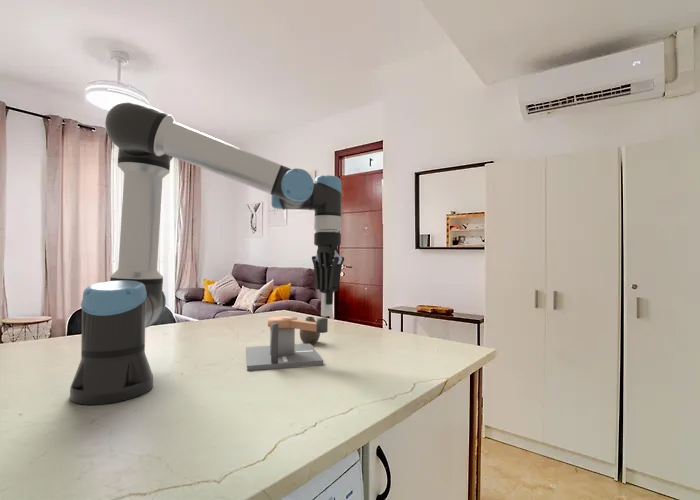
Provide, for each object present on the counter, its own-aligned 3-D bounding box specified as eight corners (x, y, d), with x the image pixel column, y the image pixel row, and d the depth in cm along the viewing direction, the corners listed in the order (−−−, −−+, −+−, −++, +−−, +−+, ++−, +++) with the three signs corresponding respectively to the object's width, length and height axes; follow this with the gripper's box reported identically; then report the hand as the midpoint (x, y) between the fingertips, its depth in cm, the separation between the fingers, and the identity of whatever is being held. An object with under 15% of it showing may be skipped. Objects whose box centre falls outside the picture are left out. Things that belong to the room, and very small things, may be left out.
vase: (318, 345, 124) (319, 319, 124) (298, 345, 124) (298, 318, 124) (320, 340, 131) (321, 315, 131) (301, 340, 131) (301, 315, 131)
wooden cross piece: (261, 325, 108) (261, 313, 108) (282, 321, 115) (282, 310, 115) (316, 335, 97) (316, 321, 97) (335, 329, 104) (335, 317, 104)
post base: (323, 364, 102) (323, 322, 102) (247, 370, 97) (247, 325, 97) (310, 347, 122) (310, 311, 122) (245, 351, 116) (246, 313, 116)
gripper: (352, 231, 103) (351, 317, 103) (325, 233, 113) (324, 311, 113) (329, 230, 98) (328, 320, 98) (304, 232, 109) (302, 313, 108)
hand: (326, 315), depth 105 cm, fingers closed
